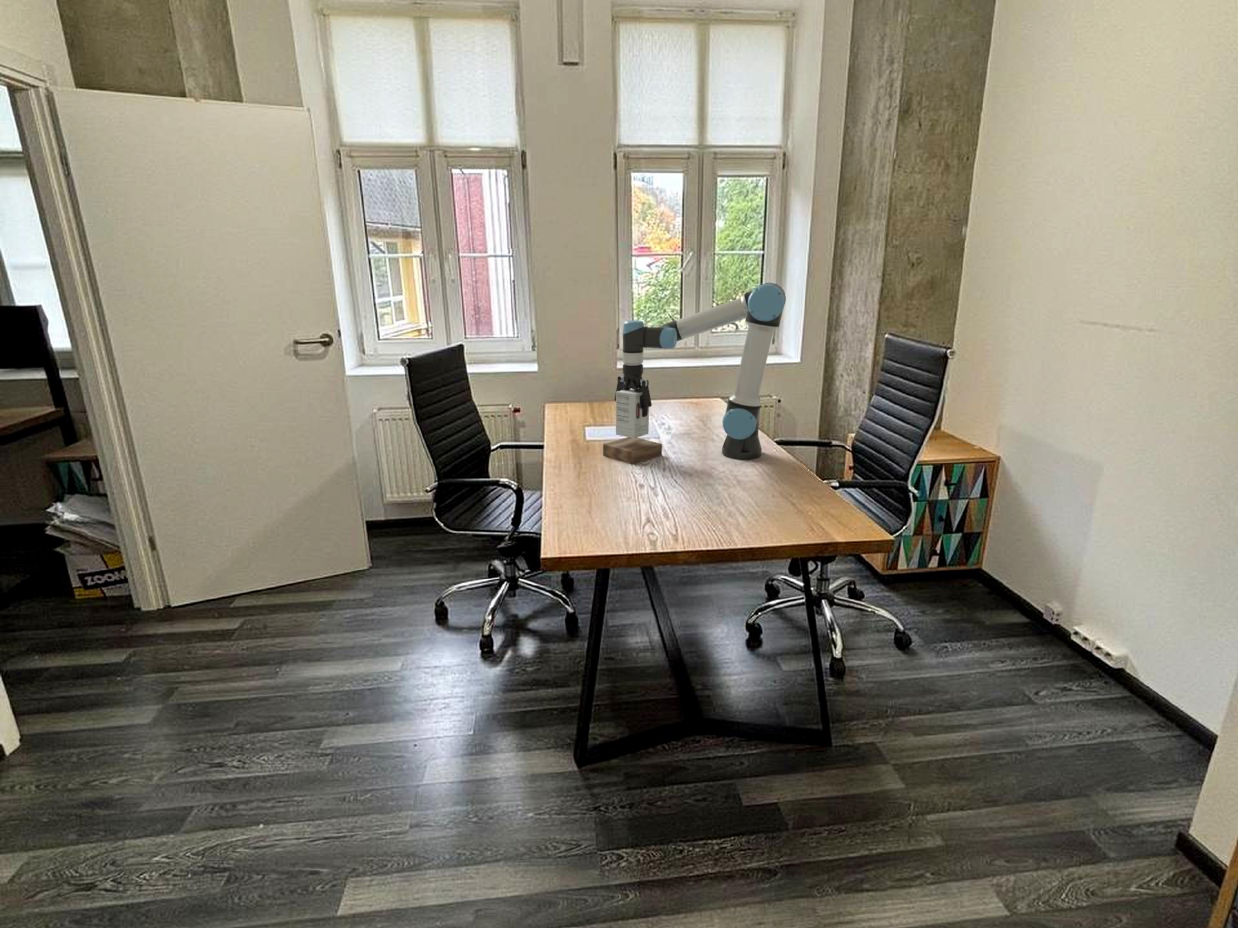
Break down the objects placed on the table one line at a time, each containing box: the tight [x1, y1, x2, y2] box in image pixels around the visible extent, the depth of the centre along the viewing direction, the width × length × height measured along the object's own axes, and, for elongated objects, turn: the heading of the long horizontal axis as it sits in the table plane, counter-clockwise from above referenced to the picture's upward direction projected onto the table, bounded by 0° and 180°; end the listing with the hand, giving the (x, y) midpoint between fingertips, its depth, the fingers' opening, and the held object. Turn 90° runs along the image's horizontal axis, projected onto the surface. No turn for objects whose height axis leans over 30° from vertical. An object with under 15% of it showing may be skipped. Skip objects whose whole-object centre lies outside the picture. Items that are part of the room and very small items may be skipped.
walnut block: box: [602, 437, 663, 465], centre depth 247 cm, size 16×16×5 cm
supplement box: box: [615, 389, 650, 438], centre depth 243 cm, size 10×9×17 cm
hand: (632, 422), depth 244 cm, fingers closed on supplement box, 10 cm apart
